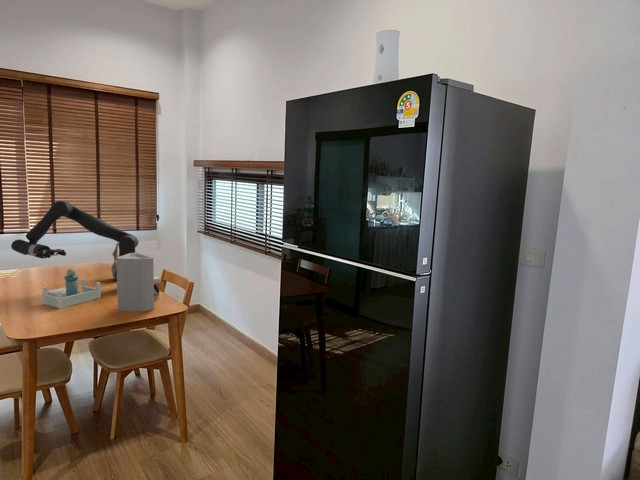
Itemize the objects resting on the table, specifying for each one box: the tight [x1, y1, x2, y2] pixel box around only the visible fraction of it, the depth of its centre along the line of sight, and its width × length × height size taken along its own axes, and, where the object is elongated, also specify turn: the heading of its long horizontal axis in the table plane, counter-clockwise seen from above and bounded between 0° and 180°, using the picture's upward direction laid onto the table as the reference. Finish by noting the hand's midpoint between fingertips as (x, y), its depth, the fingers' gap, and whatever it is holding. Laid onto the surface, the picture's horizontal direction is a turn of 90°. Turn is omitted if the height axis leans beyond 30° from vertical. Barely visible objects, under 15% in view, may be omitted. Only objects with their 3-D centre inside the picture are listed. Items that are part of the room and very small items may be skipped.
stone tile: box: [47, 286, 81, 298], centre depth 240 cm, size 12×12×2 cm
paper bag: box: [116, 252, 155, 312], centre depth 220 cm, size 19×15×28 cm
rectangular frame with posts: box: [42, 278, 101, 309], centre depth 228 cm, size 14×24×9 cm, turn 154°
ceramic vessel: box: [110, 242, 120, 281], centre depth 276 cm, size 16×9×25 cm, turn 44°
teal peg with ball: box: [64, 268, 79, 297], centre depth 228 cm, size 6×6×18 cm
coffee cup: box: [154, 275, 161, 300], centre depth 240 cm, size 9×9×12 cm
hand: (57, 255), depth 230 cm, fingers open, 8 cm apart
